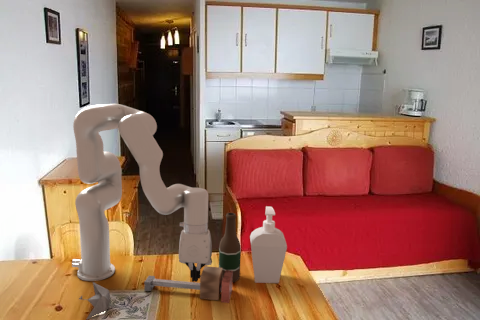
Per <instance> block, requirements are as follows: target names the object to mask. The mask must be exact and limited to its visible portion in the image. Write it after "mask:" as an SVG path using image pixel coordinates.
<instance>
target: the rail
mask: <svg viewBox="0 0 480 320" xmlns="http://www.w3.org/2000/svg"><path fill="white" fill-rule="evenodd" d="M155 277H156V276H154V275H148V276H147V278H146V279H145V280H144V285H143V286H144V292H145V291H151V290H152V291H153V289H154V288H155V287H164V288H175V289H187V290H195V291H196V290H198V291H200V282H195V281H194V282H192V281H184V280H182V281H181V280H172V279H164V278H163V279H161V278H155ZM232 279H233V271H230V270H226V271H225V274H224V277H223V280H222V285H220V292H221V293H220V296H221V299H220V300H221V301H220V302H221V303H223V304H224V303H225V304H226V303H227V304H229V303H230V300H231V296H232V292H233V282H232ZM152 291H151V292H152Z"/></svg>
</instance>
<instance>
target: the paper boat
mask: <svg viewBox="0 0 480 320" xmlns="http://www.w3.org/2000/svg"><path fill="white" fill-rule="evenodd" d="M92 286H93V290H94V291H93V292H94V295H92V296H91V297H89V298H87V299H83V295H81V296H80V297H79V298H78V300H83V301H87V302H89V303H90V304H91V305H92V306H93V308H92V310H91V311H90V312H89V314H88V316H87V318H86V319H85V320H90V318H91V317H92V316H94V315H96V314H99V313H101V312H104V311H106V310H107V309H108V310H109V307H110V305H111V303H112V302H111V294H110V290H109V289H108V288H106V287H103V286H101V285H100V284H97V283H96V282H95V281H92ZM108 310H107V311H108ZM91 319H92V318H91Z"/></svg>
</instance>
